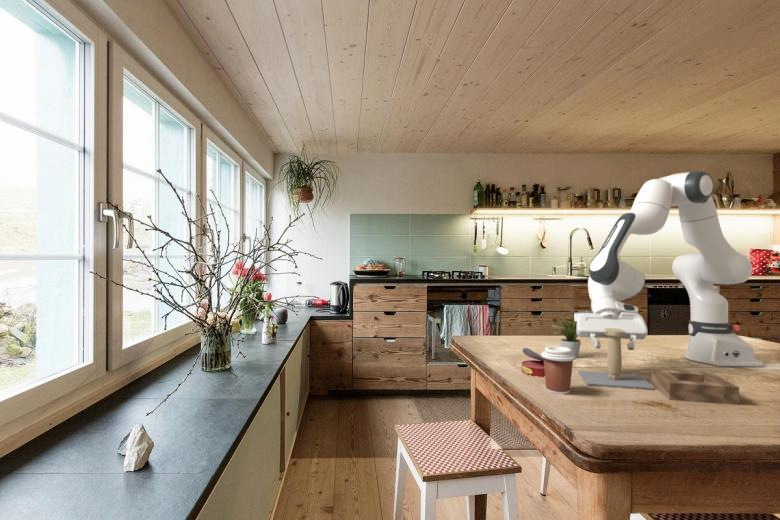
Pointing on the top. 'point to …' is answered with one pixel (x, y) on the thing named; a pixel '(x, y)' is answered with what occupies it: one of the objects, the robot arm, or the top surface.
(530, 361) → the canned food
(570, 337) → the house plant
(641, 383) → the mat
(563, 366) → the coffee cup
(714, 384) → the tray
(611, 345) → the handle
